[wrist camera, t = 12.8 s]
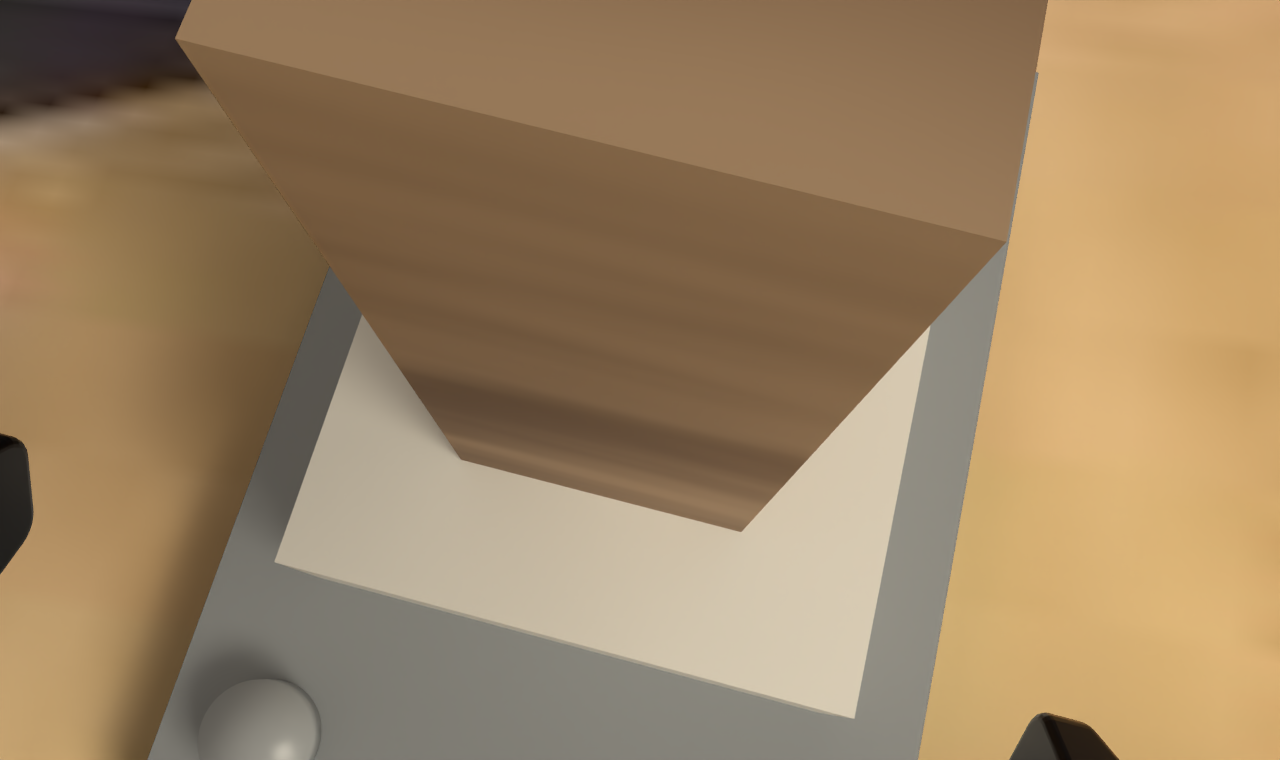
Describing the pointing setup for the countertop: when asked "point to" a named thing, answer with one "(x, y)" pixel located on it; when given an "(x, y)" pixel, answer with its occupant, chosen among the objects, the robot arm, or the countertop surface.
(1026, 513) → the countertop surface
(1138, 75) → the countertop surface
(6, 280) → the countertop surface
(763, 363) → the walnut brick
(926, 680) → the base brick
